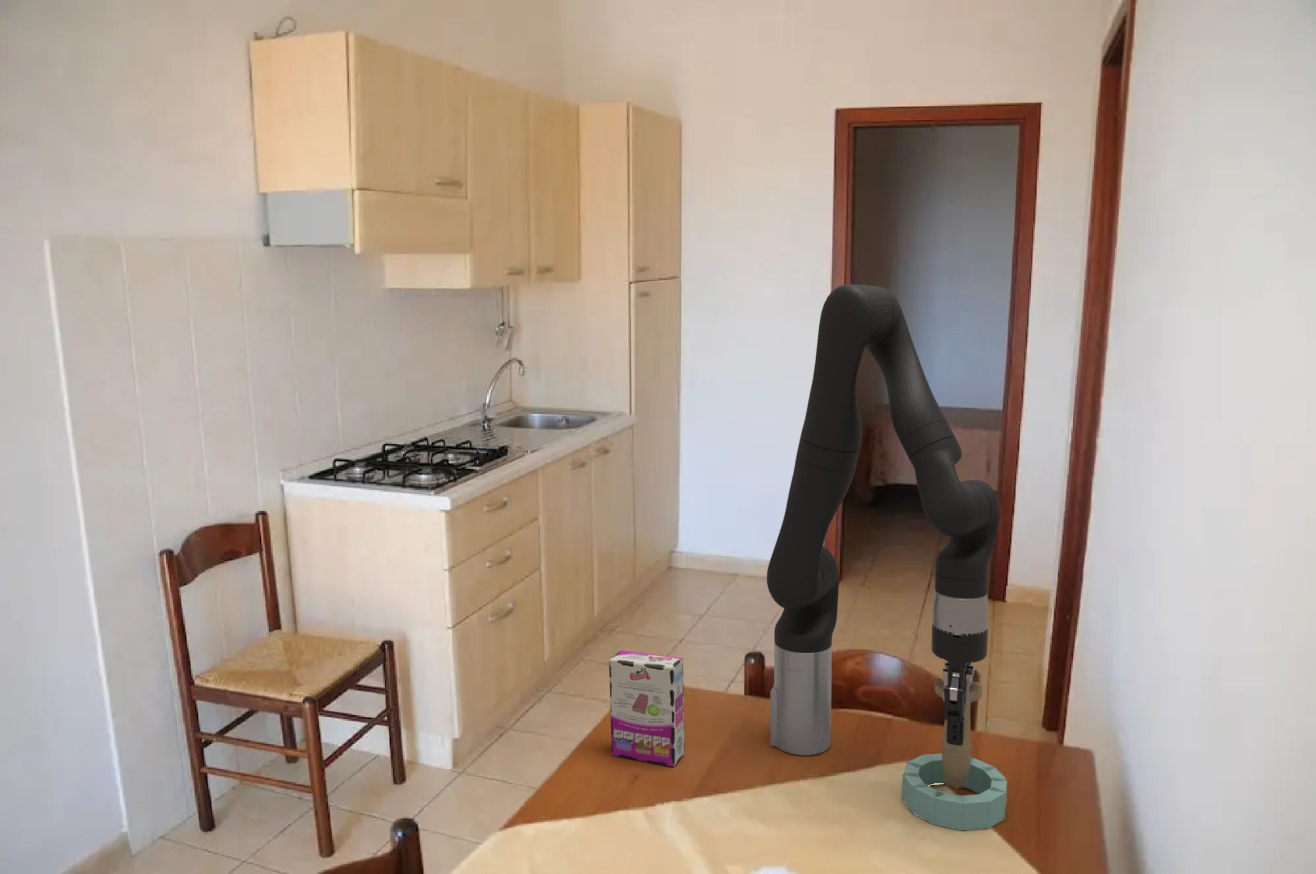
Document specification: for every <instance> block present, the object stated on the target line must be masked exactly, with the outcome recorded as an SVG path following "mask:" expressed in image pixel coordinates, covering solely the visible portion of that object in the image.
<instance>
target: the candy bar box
mask: <svg viewBox="0 0 1316 874" xmlns="http://www.w3.org/2000/svg"><path fill="white" fill-rule="evenodd" d="M608 667H609V668H608V670H609V671H608V672H609V673H608V674H609V702H610V703H609V704H610V705H609V707H610V710H609V711H610V742H611V743H610V747H611V748H610V749H611V756H613V757H616V758H617V757H618V758H623V759H628V760H634V761H639V762H646V763H650V764H658V765H662V766H667V767H668V766H669V767H675V766H676V765H677V764H678V763H679V761H681V759H682V758H683V757H684V755H685V750H686V749H685V748H686V747H685V746H686V745H685V705H684V701H685V699H684V694H685V693H684V691H685V689H684V658H683V657H676V656H671V655H670V656H669V655H662V654H654V653H645V652H637V651H630V650H624V649H623V650H622V649H621V650H619V651H618V652H617V653H616V654H614V656H612V657H611V658H610V659H609V660H608Z"/></svg>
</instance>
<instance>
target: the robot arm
mask: <svg viewBox="0 0 1316 874" xmlns="http://www.w3.org/2000/svg"><path fill="white" fill-rule="evenodd" d="M912 339H913V338H912V336H911V333H910V330H909V326H908V324H907V320H906V318H905V315H904V313H903V310H902V307H901V305H900V302H899V301H898V299H897V298H896V296H895V295H894V294H893V293H892V292H891V291H890V290H889V289H887V288H885V287H882V286H877V285H867V284H855V283H854V284H853V283H848V284H842V285H840V286H838V287H836V288H835V289H833V290H832V291H831V292H830V294H828V295H827V298H826V299H825V301H824V304H823V306H822V308H821V312H820V317H819V323H818V332H817V341H816V342H817V343H816V349H815V352H816V353H815V359H814V367H813V368H814V369H813V375H812V380H811V386H810V391H809V396H808V400H807V401H808V402H807V407H806V410H805V411H806V412H805V417H804V421H803V424H802V425H803V426H802V429H801V433H800V437H799V441H798V447H797V450H796V457H795V461H794V468H793V472H792V476H791V477H792V478H791V481H790V486H789V491H788V494H787V495H788V496H787V501H786V506H785V510H784V515H783V520H782V523H781V526H780V529H779V533H778V535H777V539H776V542H775V544H774V547H773V549H772V553H771V556H770V560H769V562H768V564H767V565H768V566H767V571H766V585H767V589H768V592H769V594H770V596H771V598H772V600H773V601H774V602H775V603H776V604H777V605H778V606H779V607H781V608H783V611H782V613H781V615H780V616H779V618H778V621H776V624H775V626H774V635H773V636H774V637H773V638H774V640H773V641H774V646H773V647H774V651H773V653H774V654H773V655H774V656H773V657H774V658H773V661H774V664H773V668H774V671H773V672H774V676H773V681H774V682H773V686H772V688H771V690H770V693H769V695H770V701H769V702H770V706H769V707H770V710H769V711H770V713H769V716H770V717H769V720H770V722H769V723H770V724H769V725H770V726H769V729H770V730H769V735H770V736H769V737H770V738H769V741H770V742H769V743H770V744H769V746H772V747H775V748H777V749H779V750H781V751H783V752H785V753H787V754H792V755H796V756H813V755H819V754H822V753H825V752H826V751H827V750H828V749H829V748H830V747H831V739H832V738H831V735H832V730H831V727H832V726H831V724H832V723H831V722H832V659H833V657H832V655H833V653H832V652H833V650H832V649H833V634H834V631H835V628H836V626H837V620H838V607H839V606H838V605H839V593H840V592H839V589H840V576H839V568H838V564H837V560H836V559H835V557H834V555H833V554H832V552H831V551H830V550H829V549H828V548H827V547H826V546H824V544H825V539H826V535H827V534H828V529H829V528H830V525H831V523H832V520H833V519H834V517H835V515H836V514H837V511H838V510H839V508H840V506H841V505H842V502H843V500H844V499H845V497H846V495H847V493H848V491H849V489H850V488H851V487H850V486H851V485H852V482H853V479H854V476H855V473H856V469H857V465H858V460H859V456H860V453H861V447H862V441H863V427H862V426H863V425H862V418H861V414H860V410H859V409H860V408H859V406H858V399H857V390H856V388H857V378H858V372H859V370H860V365H861V360H862V356H863V353H864V350H865V349H867V350H868V352H869V353H870V355H871V357H872V358H873V359H874V361H875V362H876V364H877V365H878V367H879V369H880V370H881V373H882V376H883V378H884V382H885V385H886V391H887V395H888V408H889V414H890V415H889V416H890V419H891V422H892V427H893V429H894V431H895V434H896V436H897V438H898V440H899V442H900V444H901V446H902V448H903V450H904V452H905V454H906V456H907V458H908V460H909V462H910V463H911V465H912V468H913V469H914V470H913V471H914V473H915V474H914V475H915V479H916V481H915V482H916V486H917V488H918V492H919V498H920V501H921V505H922V508H923V511H924V513H925V516H926V518H927V520H928V522H929V523H930V524H931V526H932V527H934V529H935V530H936V531H938V532H939V533H940V534H942V535H943V536H945V537H949V542H948V543H947V544H946V545H945V546H944V547H943V548H942V550H940V551H939V552H938V553H937V556H936V559H935V564H934V565H935V567H934V568H935V569H934V571H935V572H934V573H935V574H934V575H935V576H934V592H933V593H934V594H933V600H932V608H931V609H932V611H931V612H932V614H931V645H930V646H931V647H930V648H931V652H932V654H933V655H935V657H937V658H938V659H941V660H942V659H943V660H944V668H942V677H941V679H942V680H943V682H944V689H943V692H944V693H943V698H942V701H943V702H944V703H943V704H944V705H943V706H944V713H943V718H944V721H945V720H947V743H948V744H952V745H958V746H961V745H962V744H963V738H964V720H965V719H966V715H965V706H966V705H968V703H969V692H970V685H971V683H972V681H973V679H974V673H975V666H974V665H973V664H972V663H974V664H975V663H978V662H981V661H983V660H985V659H986V657H987V655H988V641H989V640H988V639H989V638H988V635H989V633H988V632H989V609H990V608H989V601H988V600H989V599H988V584H989V583H988V580H989V578H988V577H989V561H990V558H991V554H992V552H993V549H994V547H995V546H994V545H995V542H996V537H997V534H998V530H999V525H1000V517H1001V508H1000V502H999V498H998V495H997V493H996V492H995V490H994V489H993V487H992V486H991V485H990V484H989V483H987V482H985V481H984V480H979V479H970V480H969V479H968V480H965V481H961V480H960V479H959V476H958V473H957V470H956V466H955V465H957V464H958V463H959V461H960V460H961V458H962V456H963V451H962V448H961V446H960V444H959V441H958V440H957V438H956V436H955V434H954V432H953V430H952V428H951V426H950V424H949V422H948V421H947V419H946V417H945V415H944V413H943V412H942V410H941V407H940V406H939V404H938V402H937V399H936V398H935V396H934V394H933V391H932V389H931V387H930V384H929V381H928V379H927V377H926V375H925V372H924V369H923V367H922V364H921V362H920V359H919V356H918V353H917V351H916V348H915V345H914V342H913V340H912ZM964 692H965V698H964ZM951 710H957V711H959V712H957V711H951Z"/></svg>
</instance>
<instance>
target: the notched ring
mask: <svg viewBox="0 0 1316 874" xmlns="http://www.w3.org/2000/svg"><path fill="white" fill-rule="evenodd" d="M967 779H968V781H967V786H965V787H963V788H964V789H967V790H970V791H972V792H974V793H976V794H967V795H966V794H965V795H958V794H953V793H948V792H943V791H942V792H941V791H940V790H938V789H935V788H933V786H930V787H929V786H928V785H930V784H934V783H944V784H945V781H944V770H943V763H942V752H941V753H930V754H921V755H919V756H918V757H915V758H914V759H912V760H909V761H907V762H906V764H905V767H904V771H903V773H902V783H901V784H902V787H901V789H902V791H901V799H903V800H904V801H905V803H906V804H907V806H908V807H907V806H906V807H907V808H908V810H909V809H910V810H911V811H910V810H909V811H910V813H911V812H912V813H915V814H916V815H918V816H919V817H918V816H917V817H918V818H920V817H922V818H923V819H924V821H925V820H926V821H925V822H927V821H929V822H930V823H929V822H928V823H929V824H931V825H933V826H935V827H937V826H938V827H942V826H943V827H942V828H946V827H947V829H952V830H956V831H957V830H958V831H961V830H966V831H978V830H988V829H990V828H993V827H994V826H996V825H997V824H999V823H1000V822H1002V821H1004V820H1006V807H1007V802H1008V801H1007V800H1008V799H1007V798H1008V779H1007V778H1006V777H1005V776H1004V775H1003V774H1002V773H1001V772H1000V771H999V770H998V769H997V768H996V767H995V766H994V765H991V764H988V763H986V762H984V761H983V760H980V759H977V758H975V757H973V756H971V761H970V769H969V773H968V776H967ZM903 800H902V801H903ZM904 801H903V802H904ZM905 803H904V804H905ZM906 804H905V805H906ZM912 813H911V814H912ZM916 815H915V816H916ZM922 818H921V819H922ZM923 819H922V820H923ZM985 828H986V829H985ZM987 828H988V829H987ZM977 829H978V830H977Z"/></svg>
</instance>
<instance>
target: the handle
mask: <svg viewBox="0 0 1316 874" xmlns="http://www.w3.org/2000/svg"><path fill="white" fill-rule="evenodd" d="M943 689H944V682H943V680H942V678H938V679H936V680H935V682H934V692H935V694H936V695H937V696H938V697H940V698H942V699H943V693H944V692H943ZM982 697H983V686H982V684H981V683H979V682H977V681H974V680H972V683H971V685H970V692H969V703H968V705H966V706H965V715H966V719H965V720H964V738H963V744H962V745H961V746H958V745H952V744H948V743H947V720H945V719H944V722H943V730H942V731H943V733H942V743H941V753H942V763H943V770H944V781H945V784H946V785H945V786H949V787H952V788H953V789H960V788H964V787H965V786H967V781H968V779H967V776H968V773H969V769H970V761H971V757H972V733H971V732H972V731H971V730H972V729H971V704H972V703H973V702H976V701H979V700H980V699H982ZM964 698H965V692H964ZM951 711H957V710H951ZM957 712H959V711H957Z"/></svg>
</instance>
